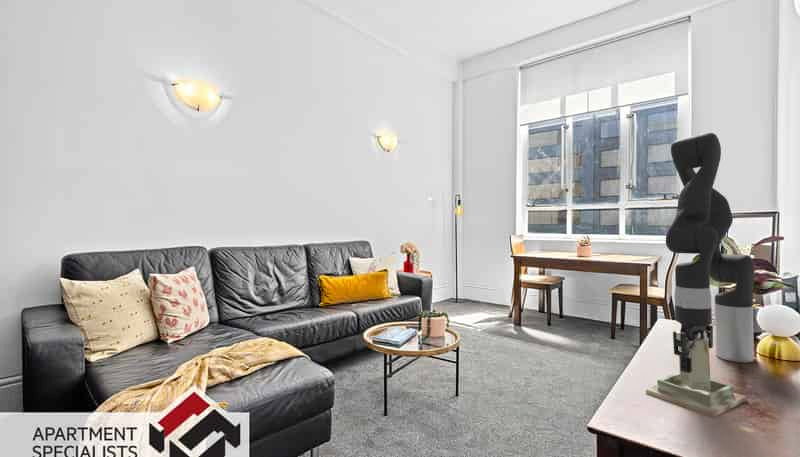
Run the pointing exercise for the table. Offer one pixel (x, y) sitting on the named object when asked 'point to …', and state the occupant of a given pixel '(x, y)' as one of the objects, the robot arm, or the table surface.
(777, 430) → the table surface
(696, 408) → the socket stand
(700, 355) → the skincare box
